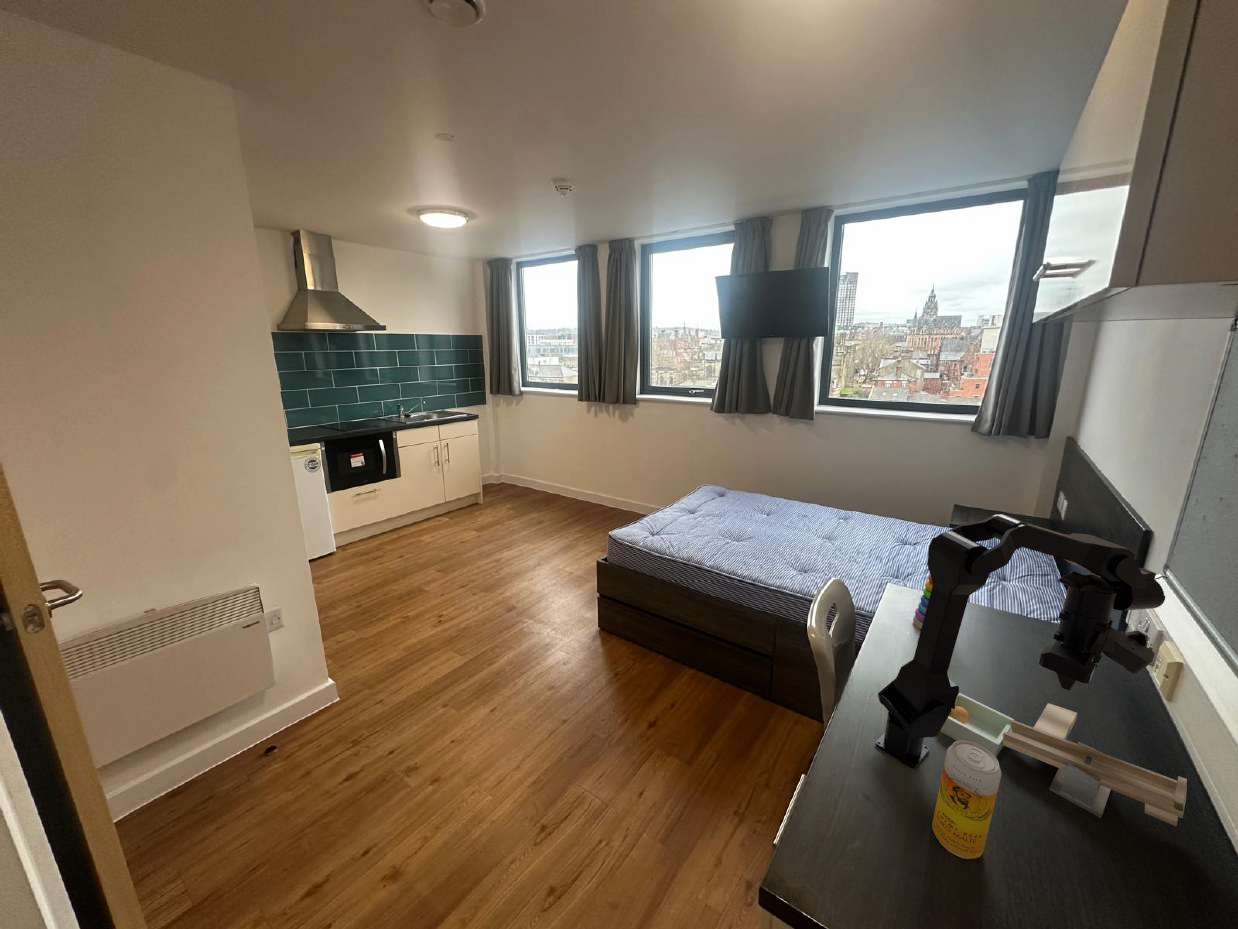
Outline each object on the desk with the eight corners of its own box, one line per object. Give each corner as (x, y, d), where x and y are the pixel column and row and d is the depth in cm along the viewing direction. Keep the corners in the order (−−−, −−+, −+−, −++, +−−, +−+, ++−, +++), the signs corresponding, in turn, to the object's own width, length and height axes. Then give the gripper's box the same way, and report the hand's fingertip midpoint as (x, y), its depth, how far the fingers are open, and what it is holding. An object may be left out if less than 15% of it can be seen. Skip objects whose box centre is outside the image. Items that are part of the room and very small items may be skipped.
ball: (943, 715, 90) (958, 730, 89) (954, 707, 88) (969, 723, 87) (949, 707, 92) (964, 722, 90) (960, 700, 90) (975, 715, 89)
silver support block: (1100, 818, 72) (1110, 788, 71) (1049, 789, 77) (1056, 761, 75) (1111, 788, 77) (1119, 760, 75) (1061, 763, 81) (1069, 736, 80)
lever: (1181, 830, 66) (1183, 800, 66) (1002, 754, 82) (1002, 730, 82) (1192, 766, 76) (1194, 739, 76) (1030, 710, 92) (1030, 687, 92)
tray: (993, 761, 82) (997, 744, 81) (935, 728, 89) (938, 712, 88) (1010, 735, 87) (1014, 719, 86) (953, 706, 94) (956, 691, 93)
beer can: (926, 840, 69) (943, 755, 65) (937, 812, 73) (953, 731, 69) (977, 873, 65) (998, 784, 61) (986, 841, 69) (1006, 755, 65)
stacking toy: (949, 640, 115) (962, 569, 110) (910, 628, 120) (922, 559, 115) (951, 625, 121) (964, 557, 116) (914, 614, 126) (925, 548, 121)
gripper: (1148, 655, 69) (1120, 744, 73) (1164, 611, 80) (1139, 690, 84) (1048, 621, 78) (1028, 702, 82) (1075, 586, 89) (1056, 658, 93)
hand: (1066, 688), depth 85 cm, fingers closed
